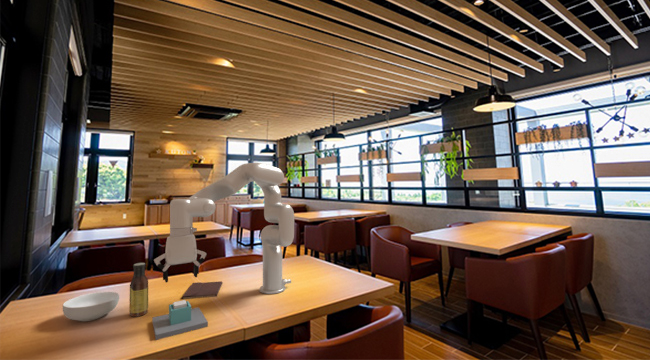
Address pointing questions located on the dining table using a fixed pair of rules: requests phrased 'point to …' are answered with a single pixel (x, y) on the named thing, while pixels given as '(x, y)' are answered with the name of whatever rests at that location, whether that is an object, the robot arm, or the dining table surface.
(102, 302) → the cereal bowl
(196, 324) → the post base
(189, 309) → the teal upright block
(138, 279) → the sauce bottle
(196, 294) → the notebook
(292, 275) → the dining table surface
